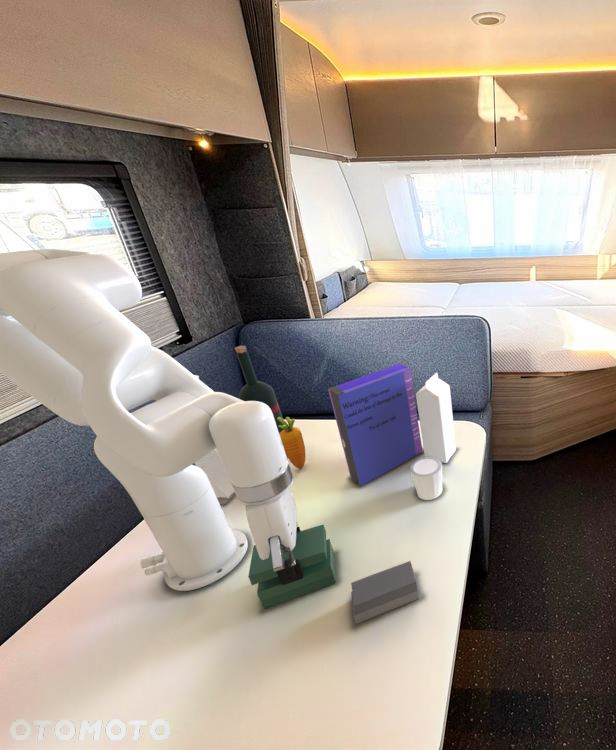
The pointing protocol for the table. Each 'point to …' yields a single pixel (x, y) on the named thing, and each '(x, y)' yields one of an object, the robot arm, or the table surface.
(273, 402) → the wine bottle
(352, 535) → the table surface
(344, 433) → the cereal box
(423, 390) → the milk
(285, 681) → the table surface
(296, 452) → the carrot
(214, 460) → the skyscraper
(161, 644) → the table surface
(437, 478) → the white cylinder
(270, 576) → the green flat block
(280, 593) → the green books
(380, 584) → the grey books
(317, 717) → the table surface
